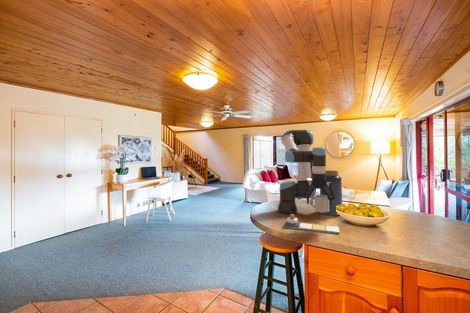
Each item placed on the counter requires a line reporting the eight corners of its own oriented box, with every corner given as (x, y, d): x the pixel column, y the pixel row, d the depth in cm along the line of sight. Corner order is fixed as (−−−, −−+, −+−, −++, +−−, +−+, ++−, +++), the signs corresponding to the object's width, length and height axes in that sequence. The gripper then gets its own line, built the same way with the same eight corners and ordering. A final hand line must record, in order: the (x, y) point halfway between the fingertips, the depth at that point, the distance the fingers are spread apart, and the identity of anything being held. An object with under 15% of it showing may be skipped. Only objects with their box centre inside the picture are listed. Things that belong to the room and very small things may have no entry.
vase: (321, 215, 160) (321, 172, 159) (317, 209, 176) (317, 170, 175) (345, 216, 156) (345, 172, 155) (339, 210, 172) (339, 170, 171)
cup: (326, 213, 126) (326, 197, 126) (308, 210, 132) (308, 196, 131) (328, 210, 132) (328, 195, 132) (311, 208, 138) (311, 194, 138)
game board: (286, 222, 145) (286, 219, 145) (338, 228, 133) (338, 224, 133) (283, 227, 135) (283, 224, 134) (339, 234, 123) (339, 231, 123)
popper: (287, 219, 142) (287, 212, 142) (298, 220, 140) (298, 213, 140) (286, 222, 136) (286, 215, 136) (297, 224, 134) (297, 216, 134)
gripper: (298, 173, 132) (298, 210, 133) (340, 174, 124) (340, 213, 124) (299, 172, 139) (300, 207, 140) (339, 173, 131) (339, 210, 131)
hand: (318, 210), depth 132 cm, fingers closed on cup, 10 cm apart
